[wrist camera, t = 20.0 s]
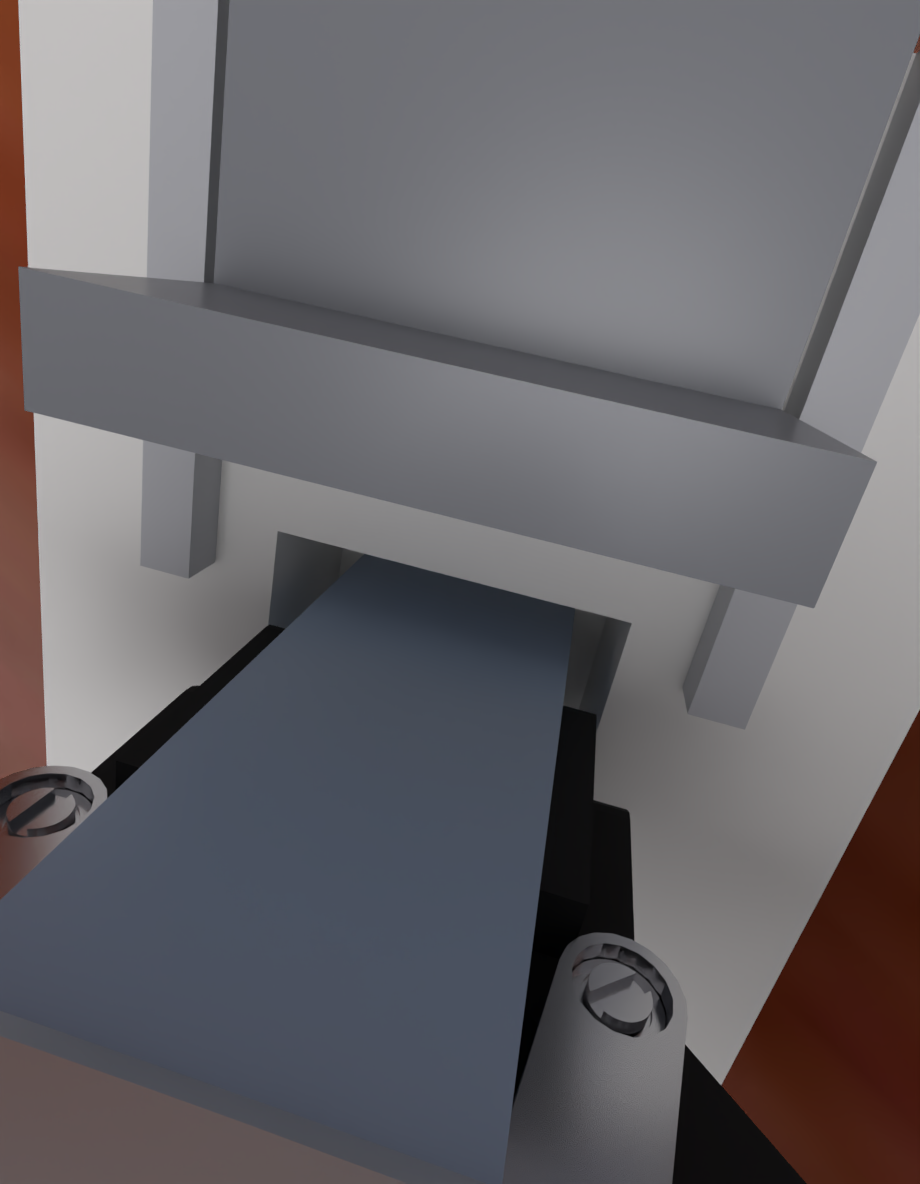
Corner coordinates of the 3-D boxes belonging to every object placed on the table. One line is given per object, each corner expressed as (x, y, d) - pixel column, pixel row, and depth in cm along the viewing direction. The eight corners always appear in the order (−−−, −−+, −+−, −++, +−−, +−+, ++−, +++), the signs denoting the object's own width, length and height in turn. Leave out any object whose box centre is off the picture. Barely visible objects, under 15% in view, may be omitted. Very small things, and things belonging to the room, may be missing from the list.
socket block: (646, 1036, 19) (656, 1256, 14) (156, 879, 20) (29, 1035, 16) (1028, 177, 11) (1307, 84, 7) (189, 24, 12) (-39, -135, 8)
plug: (524, 782, 15) (295, 2002, 4) (339, 728, 15) (-309, 1701, 4) (575, 605, 13) (419, 1844, 2) (366, 551, 13) (-528, 1401, 3)
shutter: (734, 494, 9) (814, 608, 6) (237, 376, 10) (25, 409, 6) (991, -224, 7) (1460, -892, 3) (286, -313, 7) (-33, -937, 4)
